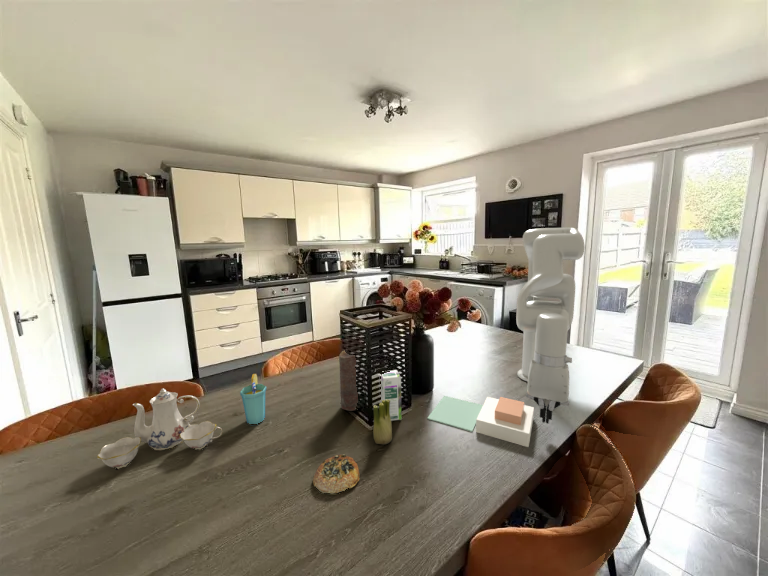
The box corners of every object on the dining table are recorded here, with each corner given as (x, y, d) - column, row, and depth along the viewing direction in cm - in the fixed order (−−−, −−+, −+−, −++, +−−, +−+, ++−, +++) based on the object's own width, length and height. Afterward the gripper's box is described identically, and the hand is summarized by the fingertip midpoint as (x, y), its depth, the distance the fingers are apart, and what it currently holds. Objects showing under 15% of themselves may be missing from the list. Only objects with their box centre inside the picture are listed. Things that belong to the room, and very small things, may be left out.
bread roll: (338, 454, 81) (338, 439, 80) (369, 479, 74) (370, 463, 73) (303, 481, 72) (303, 464, 71) (334, 512, 66) (335, 494, 64)
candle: (359, 415, 99) (357, 356, 96) (337, 413, 101) (335, 355, 98) (365, 403, 107) (363, 348, 104) (345, 401, 108) (343, 347, 105)
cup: (271, 430, 92) (268, 383, 90) (243, 437, 89) (239, 389, 86) (267, 408, 104) (263, 366, 102) (242, 414, 101) (238, 371, 99)
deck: (486, 407, 102) (487, 396, 101) (533, 419, 95) (533, 407, 95) (476, 432, 89) (476, 419, 89) (528, 447, 82) (529, 433, 82)
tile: (499, 404, 97) (500, 396, 96) (524, 409, 93) (524, 402, 93) (494, 418, 89) (494, 410, 89) (520, 425, 86) (521, 417, 85)
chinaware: (90, 492, 72) (75, 432, 68) (112, 445, 86) (100, 393, 82) (223, 453, 85) (217, 400, 81) (223, 417, 99) (218, 371, 95)
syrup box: (384, 422, 95) (383, 378, 93) (380, 412, 101) (379, 370, 98) (401, 420, 96) (401, 376, 94) (397, 410, 102) (396, 368, 100)
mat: (444, 396, 110) (444, 395, 110) (484, 406, 103) (484, 405, 103) (427, 419, 96) (427, 417, 96) (472, 432, 89) (472, 430, 89)
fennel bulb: (374, 448, 83) (373, 407, 81) (370, 437, 88) (369, 398, 86) (395, 444, 85) (394, 404, 83) (390, 434, 89) (389, 395, 87)
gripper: (581, 358, 83) (576, 421, 86) (521, 350, 90) (518, 407, 93) (582, 368, 77) (577, 435, 79) (518, 358, 84) (515, 420, 87)
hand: (545, 420), depth 86 cm, fingers closed
